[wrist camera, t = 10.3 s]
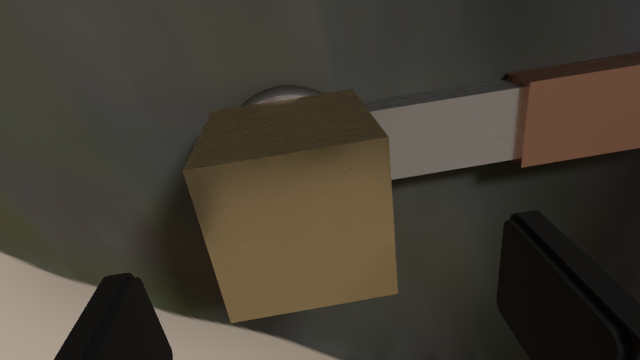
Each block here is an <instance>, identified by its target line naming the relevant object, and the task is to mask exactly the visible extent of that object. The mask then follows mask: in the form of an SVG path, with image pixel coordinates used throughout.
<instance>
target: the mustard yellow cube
mask: <svg viewBox="0 0 640 360" xmlns="http://www.w3.org/2000/svg"><path fill="white" fill-rule="evenodd" d="M183 174H184V177H185V180H186V183H187V187H188V190H189V193H190V196H191V199H192V202H193V205H194V208H195V212H196V215H197V218H198V221H199V224H200V227H201V230H202V234H203V237H204V240H205V243H206V246H207V249H208V252H209V256H210V259H211V262H212V265H213V268H214V271H215V274H216V278H217V281H218V284H219V287H220V290H221V293H222V296H223V300H224V303H225V306H226V309H227V312H228V315H229V318H230V321H231V323H235V322H241V321H247V320H252V319H258V318H264V317H269V316H275V315H280V314H286V313H292V312H297V311H303V310H309V309H314V308H320V307H325V306H331V305H337V304H342V303H348V302H354V301H359V300H365V299H370V298H376V297H382V296H387V295H393V294H398V287H397V269H396V252H395V235H394V217H393V200H392V182H391V165H390V147H389V136H388V135H387V134H386V133H385V131H384V130H383V129H382V127H381V126H380V125H379V123H378V122H377V121H376V119H375V118H374V117H373V116H372V114H371V113H370V112H369V110H368V109H367V108H366V106H365V105H364V104H363V102H362V101H361V100H360V98H359V97H358V96H357V95H356V93H355V92H354V91H353V89H349V90H343V91H336V92H330V93H324V94H317V95H311V96H305V97H298V98H292V99H286V100H279V101H273V102H267V103H260V104H254V105H248V106H242V107H235V108H229V109H223V110H216V111H211V113H210V116H209V118H208V120H207V122H206V124H205V126H204V128H203V130H202V132H201V134H200V136H199V138H198V140H197V142H196V144H195V146H194V148H193V150H192V152H191V154H190V156H189V158H188V160H187V162H186V165H185V167H184V169H183Z"/></svg>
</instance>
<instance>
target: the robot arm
mask: <svg viewBox="0 0 640 360" xmlns="http://www.w3.org/2000/svg"><path fill="white" fill-rule="evenodd" d="M497 305H498V308H499V311H500V313H501V315H502V316H503V318H504V319H505V321H506V322H507V324H508V325H509V327H510V329H511V330H512V332H513V333H514V335H515V336H516V338H517V339H518V341H519V343H520V344H521V346H522V347H523V349H524V350H525V352H526V354H527V355H528V357H529V358H530V360H640V304H639V303H638V302H637V301H636V300H635V299H633V298H632V297H631V296H630V295H629V294H628V293H627V292H626V291H625V290H624V289H623V288H622V287H620V286H619V285H618V284H617V283H616V282H615V281H614V280H613V279H612V278H611V277H610V276H609V275H607V274H606V273H605V272H604V271H603V270H602V269H601V268H600V267H599V266H598V265H597V264H596V263H594V262H593V261H592V260H591V259H590V258H589V257H588V256H587V255H586V254H585V253H584V252H582V251H581V250H580V249H579V248H578V247H577V246H576V245H575V244H574V243H573V242H572V241H571V240H569V239H568V238H567V237H566V236H565V235H564V234H563V233H562V232H561V231H560V230H559V229H558V228H556V227H555V226H554V225H553V224H552V223H551V222H550V221H549V220H548V219H547V218H546V217H545V216H543V215H542V214H541V213H540V212H539V211H535V210H534V211H527V212H521V213H514V214H512V215H511V217H510V220H507V221H505V223H504V229H503V239H502V249H501V259H500V269H499V279H498V289H497ZM54 360H173V355H172V349H171V347H170V345H169V342H168V340H167V338H166V335H165V333H164V331H163V329H162V326H161V324H160V322H159V319H158V317H157V315H156V313H155V310H154V308H153V306H152V303H151V301H150V299H149V297H148V294H147V292H146V290H145V287H144V285H143V283H142V281H141V279H140V278H138V277H135V278H134V276H133V275H132V274H131V273H123V274H117V275H110V276H106V277H104V278H103V279H102V281H101V282H100V284H99V286H98V287H97V289H96V291H95V292H94V294H93V296H92V297H91V299H90V301H89V302H88V304H87V306H86V307H85V309H84V311H83V312H82V314H81V316H80V317H79V319H78V321H77V322H76V324H75V325H74V327H73V329H72V331H71V332H70V334H69V335H68V337H67V339H66V340H65V342H64V344H63V345H62V347H61V349H60V350H59V352H58V354H57V355H56V357H55V359H54Z"/></svg>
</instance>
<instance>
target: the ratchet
mask: <svg viewBox="0 0 640 360" xmlns="http://www.w3.org/2000/svg"><path fill="white" fill-rule="evenodd" d="M317 94H322V93H320V92H318V91H316V90H314V89H311V88H307V87H303V86H297V85H284V86H277V87H272V88H269V89H266V90H263V91H261V92H259V93H257V94H255V95H254V96H252V97H251V98H249V99H248V100H247V101H246V102H245V103H244V104H243V105H242V106H248V105H254V104H260V103H267V102H273V101H279V100H286V99H292V98H298V97H305V96H311V95H317ZM363 104H364V105H365V106H366V108H367V109H368V110H369V112H370V113H371V114H372V116H373V117H374V118H375V119H376V121H377V122H378V123H379V125H380V126H381V127H382V129H383V130H384V131H385V133H386V134H387V135H388V136H389V147H390V165H391V180H394V179H400V178H406V177H412V176H418V175H424V174H430V173H436V172H442V171H448V170H454V169H460V168H466V167H472V166H478V165H484V164H490V163H496V162H502V161H508V160H511V161H513V162H514V163H516V164H517V165H518V166H520V167H521V168H522V167H528V166H534V165H540V164H546V163H552V162H558V161H564V160H570V159H576V158H582V157H588V156H594V155H600V154H606V153H612V152H618V151H624V150H630V149H636V148H640V52H639V53H633V54H626V55H620V56H614V57H607V58H601V59H595V60H588V61H582V62H576V63H569V64H563V65H557V66H550V67H544V68H538V69H531V70H525V71H519V72H512V73H507V75H506V80H500V81H494V82H488V83H481V84H475V85H469V86H462V87H456V88H450V89H444V90H437V91H431V92H425V93H418V94H412V95H406V96H399V97H393V98H387V99H381V100H374V101H368V102H363ZM242 106H241V107H242Z"/></svg>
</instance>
